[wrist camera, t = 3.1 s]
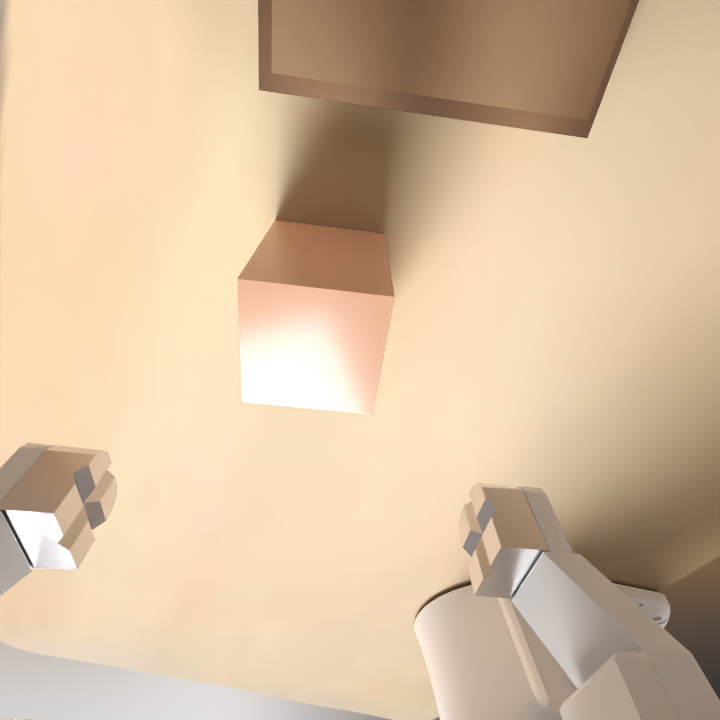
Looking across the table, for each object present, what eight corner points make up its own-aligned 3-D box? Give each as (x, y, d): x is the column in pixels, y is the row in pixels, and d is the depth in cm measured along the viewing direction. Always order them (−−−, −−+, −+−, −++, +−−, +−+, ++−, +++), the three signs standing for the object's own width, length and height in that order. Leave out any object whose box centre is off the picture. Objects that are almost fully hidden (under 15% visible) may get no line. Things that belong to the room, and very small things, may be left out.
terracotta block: (383, 233, 19) (394, 296, 13) (369, 327, 22) (372, 414, 16) (275, 219, 19) (237, 278, 13) (274, 317, 22) (242, 402, 16)
